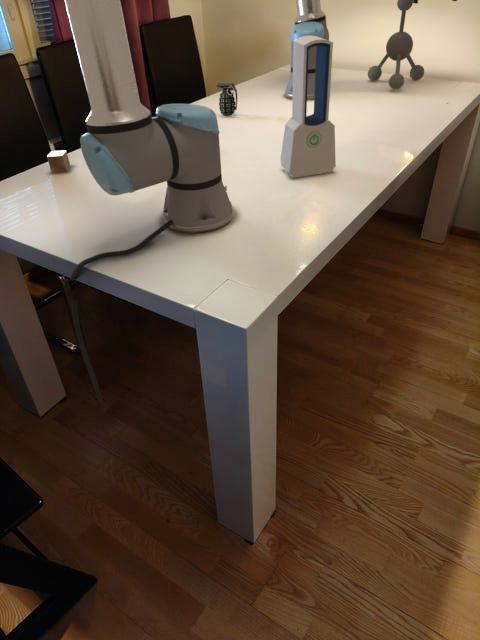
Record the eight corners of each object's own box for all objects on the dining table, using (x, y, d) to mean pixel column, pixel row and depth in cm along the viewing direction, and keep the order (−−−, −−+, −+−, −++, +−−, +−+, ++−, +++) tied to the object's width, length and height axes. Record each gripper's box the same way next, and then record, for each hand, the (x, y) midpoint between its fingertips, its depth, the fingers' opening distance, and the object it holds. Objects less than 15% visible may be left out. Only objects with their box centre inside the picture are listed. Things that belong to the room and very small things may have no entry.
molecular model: (441, 85, 188) (459, -9, 169) (393, 93, 182) (406, -3, 164) (404, 74, 205) (416, -12, 187) (359, 81, 200) (367, -7, 181)
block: (70, 166, 137) (66, 150, 134) (66, 172, 133) (62, 155, 131) (55, 167, 137) (51, 151, 134) (51, 173, 133) (46, 156, 131)
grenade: (217, 117, 168) (214, 86, 162) (221, 112, 172) (219, 82, 166) (235, 117, 166) (233, 86, 160) (239, 113, 171) (238, 82, 165)
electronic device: (289, 178, 122) (291, 42, 103) (279, 168, 128) (280, 37, 109) (335, 171, 124) (345, 37, 106) (323, 161, 130) (331, 32, 111)
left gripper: (45, -128, 101) (72, -5, 114) (-75, -121, 101) (-35, 1, 114) (34, -132, 95) (63, -2, 108) (-94, -124, 95) (-49, 5, 108)
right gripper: (481, -79, 160) (466, -2, 173) (405, -74, 160) (396, 3, 173) (491, -80, 154) (474, 0, 167) (412, -75, 154) (402, 5, 167)
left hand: (13, 0), depth 111 cm, fingers open, 13 cm apart
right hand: (434, 2), depth 170 cm, fingers open, 13 cm apart
